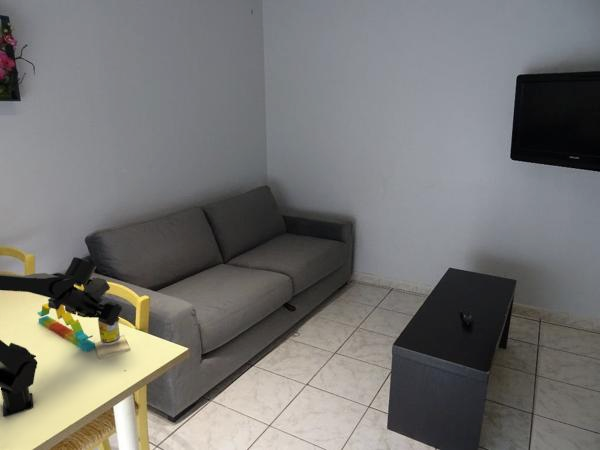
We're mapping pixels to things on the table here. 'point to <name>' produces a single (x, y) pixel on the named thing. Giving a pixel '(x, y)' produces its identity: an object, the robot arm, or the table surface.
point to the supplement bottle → (109, 333)
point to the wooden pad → (112, 348)
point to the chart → (66, 328)
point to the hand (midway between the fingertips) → (111, 318)
